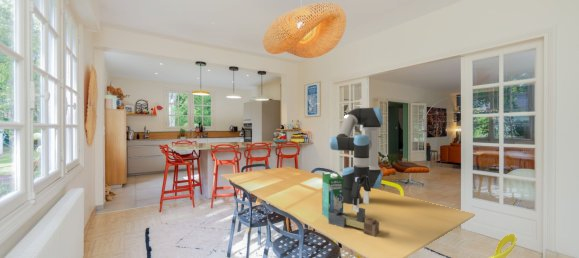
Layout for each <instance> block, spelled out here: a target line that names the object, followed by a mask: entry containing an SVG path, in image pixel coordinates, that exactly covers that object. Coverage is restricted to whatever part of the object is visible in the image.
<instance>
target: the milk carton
mask: <svg viewBox="0 0 579 258" xmlns="http://www.w3.org/2000/svg"><path fill="white" fill-rule="evenodd" d="M321 189H322V191H321V192H322V193H321V194H322V200H321V201H322V204H321V205H322V207H321V208H322V210H321V211H322V215H323V216H324V217H325V218H326V219H327V220H328V221H329V212H330V211H331V210H333V209H336V210H340V211H341V212H343V213H344V202H343V178H342V175H340V173H338V172H337V171H327V172H325V171H324V172H322V188H321Z"/></svg>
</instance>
